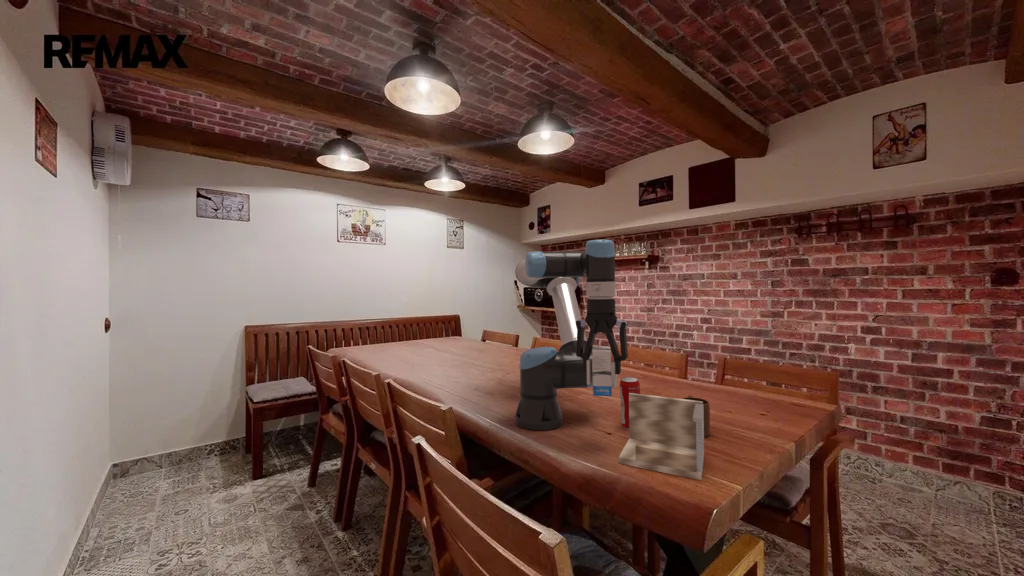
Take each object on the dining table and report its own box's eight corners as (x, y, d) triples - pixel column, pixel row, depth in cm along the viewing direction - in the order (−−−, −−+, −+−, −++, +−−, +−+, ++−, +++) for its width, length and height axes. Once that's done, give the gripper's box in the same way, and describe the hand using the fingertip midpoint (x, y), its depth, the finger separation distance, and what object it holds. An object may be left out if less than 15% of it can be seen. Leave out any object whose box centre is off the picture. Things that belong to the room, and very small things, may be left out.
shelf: (618, 463, 92) (618, 407, 92) (630, 441, 105) (629, 392, 105) (701, 480, 84) (700, 419, 83) (703, 454, 96) (702, 401, 96)
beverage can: (642, 425, 117) (641, 376, 117) (639, 432, 111) (639, 381, 111) (622, 422, 119) (621, 375, 119) (619, 429, 113) (618, 379, 113)
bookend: (693, 470, 85) (692, 417, 85) (696, 449, 96) (695, 402, 96) (702, 471, 84) (701, 418, 84) (704, 451, 95) (703, 403, 95)
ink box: (612, 397, 96) (611, 351, 96) (592, 396, 97) (591, 350, 97) (610, 388, 105) (610, 345, 105) (592, 387, 106) (592, 345, 106)
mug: (676, 422, 119) (676, 392, 119) (702, 424, 117) (702, 393, 117) (683, 437, 108) (683, 403, 108) (713, 439, 106) (712, 405, 106)
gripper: (562, 298, 102) (563, 384, 102) (634, 298, 93) (635, 392, 93) (571, 297, 109) (572, 378, 109) (640, 297, 100) (641, 385, 100)
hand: (601, 384), depth 101 cm, fingers closed on ink box, 6 cm apart
